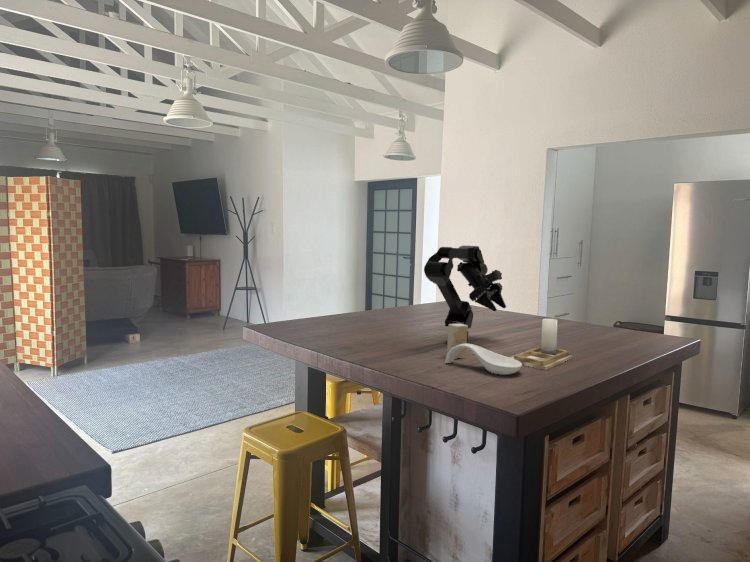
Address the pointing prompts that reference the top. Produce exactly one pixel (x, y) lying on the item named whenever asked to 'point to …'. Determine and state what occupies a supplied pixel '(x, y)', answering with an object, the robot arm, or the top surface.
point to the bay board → (541, 358)
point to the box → (457, 339)
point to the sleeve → (549, 336)
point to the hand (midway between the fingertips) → (500, 309)
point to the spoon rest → (488, 359)
